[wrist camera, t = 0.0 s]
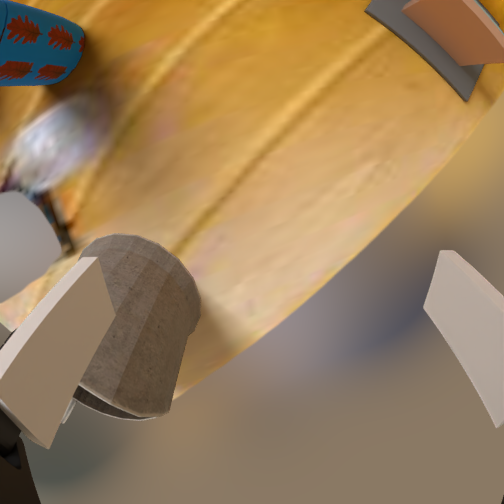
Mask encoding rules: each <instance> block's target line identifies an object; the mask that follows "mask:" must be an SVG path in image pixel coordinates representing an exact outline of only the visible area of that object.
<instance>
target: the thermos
mask: <svg viewBox="0 0 504 504" xmlns="http://www.w3.org/2000/svg"><path fill="white" fill-rule="evenodd" d="M84 39H85V36H84V33H83V31H82V28H81V27H79V26H78V25H77V24H75V23H73V22H71V21H69V20H67V19H65V18H63V17H60V16H58V15H55V14H52V13H49V12H46V11H43V10H40V9H37V8H34V7H30V6H27V5H24V4H20V3H16V2H13V1H9V0H0V86H36V85H51V84H55V83H58V82H60V81H61V80H63V79H64V78H66V77H67V76H68V75H69V74H70V73H71V72H72V71H73V70H74V68H75V67H76V65H77V63H78V62H79V60H80V58H81V56H82V52H83V49H84Z"/></svg>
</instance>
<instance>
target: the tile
mask: <svg viewBox="0 0 504 504" xmlns="http://www.w3.org/2000/svg"><path fill="white" fill-rule="evenodd" d="M401 12H403V13H404V14H405V15H406V16H408V17H409V18H410V19H411V20H412V21H414V22H415V23H416V24H417V25H418V26H419V27H421V28H422V29H423V30H424V31H425V32H426V33H427V34H428V35H429V36H431V37H432V38H433V39H434V40H435V41H436V42H437V43H438V44H439V45H440V46H441V47H442V48H443V49H444V50H445V51H446V52H447V53H448V54H449V55H450V56H451V57H452V58H453V59H454V60H455V61H456V63H457V64H458V65H459V66H467V65H477V64H490V63H504V33H503V32H502V30H501V29H500V28H499V27H498V25H497V24H496V23H495V22H494V21H493V19H492V18H491V17H490V16H489V15H488V13H487V12H486V11H485V10H484V9H483V8H482V7H481V6H480V5H479V3H478V2H477V1H476V0H411V1H410V2H408V3H406V4H405V6H404V7H403V9H402V10H401Z"/></svg>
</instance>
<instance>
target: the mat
mask: <svg viewBox="0 0 504 504" xmlns="http://www.w3.org/2000/svg"><path fill="white" fill-rule="evenodd" d="M410 1H411V0H372V1H371V3H370V4H369V5H368V7H367V8H366V10H365V11H364V12H366V13H367V14H369V15H370V16H372V17H373V18H374V19H376V20H377V21H379V22H380V23H381V24H383V25H384V26H385V27H387V28H388V29H389V30H391V31H392V32H393V33H394V34H396V35H397V36H398V37H399V38H401V39H402V40H403V41H404V42H405V43H407V44H408V45H409V46H410V47H411V48H412V49H414V50H415V51H416V52H417V53H418V54H419V55H420V56H421V57H422V58H423V59H425V60H426V61H427V62H428V63H429V64H430V65H431V66H432V67H433V68H434V69H435V70H436V71H437V72H438V73H439V74H440V75H441V76H442V77H443V78H444V79H445V80H446V81H447V82H448V83H449V85H450V86H451V87H452V88H453V89H454V90H455V91H456V92H457V93H458V94H459V96H460V97H461V98H462V99H463V100H464V101H468V99H469V97H470V95H471V93H472V91H473V88H474V86H475V84H476V82H477V80H478V77H479V75H480V73H481V71H482V68H483V66H484V64H477V65H467V66H459V65H458V64H457V63H456V61H455V60H454V59H453V58H452V57H451V56H450V55H449V54H448V53H447V52H446V51H445V50H444V49H443V48H442V47H441V46H440V45H439V44H438V43H437V42H436V41H435V40H434V39H433V38H432V37H431V36H429V35H428V34H427V33H426V32H425V31H424V30H423V29H422V28H421V27H419V26H418V25H417V24H416V23H415V22H414V21H412V20H411V19H410V18H409V17H408V16H406V15H405V14H404V13H403V12H401V10H402V9H403V7H404V6H405V4H406V3H408V2H410ZM476 1H477V2H478V3H479V5H480V6H481V7H482V8H483V9H484V10H485V11H486V12H487V13H488V15H489V16H490V17H491V18H492V19H493V21H494V22H495V23H496V24H497V25H498V27H499V24H498V22H497V21H496V20H495V19H494V17H493V16H492V15H491V14H490V13H489V12H488V10H487V9H486V8H485V7H484V6H483V5H482V4H481V3H480V2H479V0H476Z"/></svg>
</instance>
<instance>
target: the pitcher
mask: <svg viewBox="0 0 504 504" xmlns="http://www.w3.org/2000/svg"><path fill="white" fill-rule="evenodd" d="M82 257H98V259H99V262H100V266H101V270H102V273H103V277H104V280H105V283H106V287H107V290H108V293H109V296H110V299H111V302H112V306H113V308H114V311H115V314H116V316H115V318H114V320H113V321H112V323H111V325H110V327H109V328H108V330H107V332H106V334H105V335H104V337H103V339H102V341H101V343H100V344H99V346H98V348H97V350H96V352H95V354H94V355H93V357H92V359H91V361H90V363H89V365H88V367H87V369H86V371H85V373H84V374H83V376H82V378H81V380H80V382H79V384H78V386H77V388H76V390H75V392H74V395H73V397H72V399H71V401H70V403H69V405H68V407H67V409H66V411H65V414H64V416H63V418H62V420H61V422H62V423H63V424H64V423H65V421H66V420H67V418H68V417H69V415H70V413H71V411H72V409H73V408H74V406H75V404H76V402H77V401H78V402H79V403H81V404H83V405H84V406H87V407H89V408H91V409H93V410H95V411H97V412H100V413H102V414H105V415H108V416H112V417H116V418H119V419H126V420H137V421H138V420H139V421H140V420H147V419H153V418H156V417H160V416H163V415H165V414H167V413H169V410H170V406H171V402H172V398H173V393H174V389H175V385H176V381H177V377H178V373H179V369H180V365H181V361H182V357H183V353H184V349H185V345H186V341H187V338H188V336H189V335H190V334H191V333H192V332H193V331H194V330H195V327H196V325H197V323H198V320H199V318H200V295H199V293H198V290H197V287H196V285H195V282H194V279H193V277H192V276H191V275H190V273H189V272H188V271H187V269H186V268H185V267H184V265H183V264H182V263H181V262H180V260H179V259H178V258H177V257H175V256H174V255H173V254H171V253H170V252H169V251H167V250H166V249H165V248H164V247H162V246H161V245H160V244H158V243H155V242H153V241H150V240H148V239H145V238H143V237H140V236H138V235H131V234H119V233H114V234H110V235H106V236H103V237H100V238H96V239H95V240H94V241H93V242H92V243H90V244H89V245H88V246H87V247H86V248H84V249H83V251H82V253H81V255H80V257H79V259H78V261H79V260H80V259H81V258H82Z"/></svg>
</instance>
